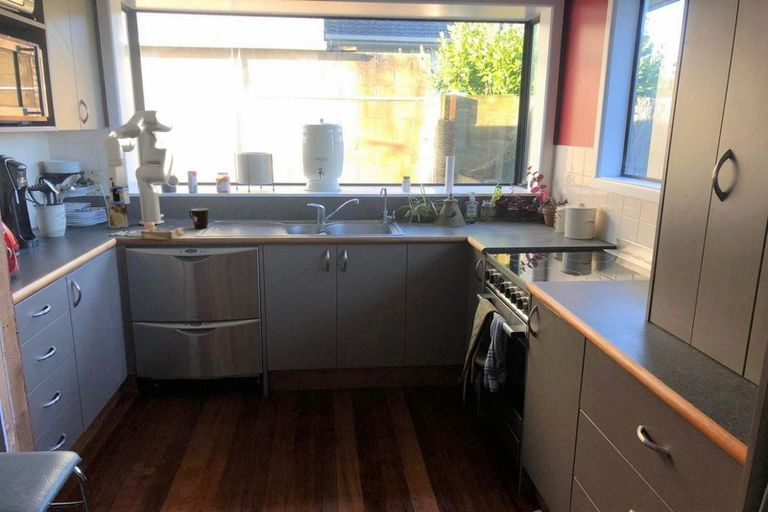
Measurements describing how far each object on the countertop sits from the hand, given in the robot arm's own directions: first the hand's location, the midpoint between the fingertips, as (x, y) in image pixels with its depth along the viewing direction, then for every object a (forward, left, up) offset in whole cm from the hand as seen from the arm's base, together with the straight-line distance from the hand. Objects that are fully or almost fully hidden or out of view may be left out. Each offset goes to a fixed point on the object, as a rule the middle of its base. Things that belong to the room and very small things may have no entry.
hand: (119, 200), depth 276 cm
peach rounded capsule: (-7, +10, -17) cm, 21 cm away
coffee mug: (-22, +30, -17) cm, 41 cm away
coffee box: (-18, -14, -17) cm, 28 cm away
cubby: (+3, +23, -17) cm, 29 cm away
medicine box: (0, 0, -2) cm, 2 cm away
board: (0, 0, -17) cm, 17 cm away
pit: (+2, +10, -17) cm, 20 cm away
